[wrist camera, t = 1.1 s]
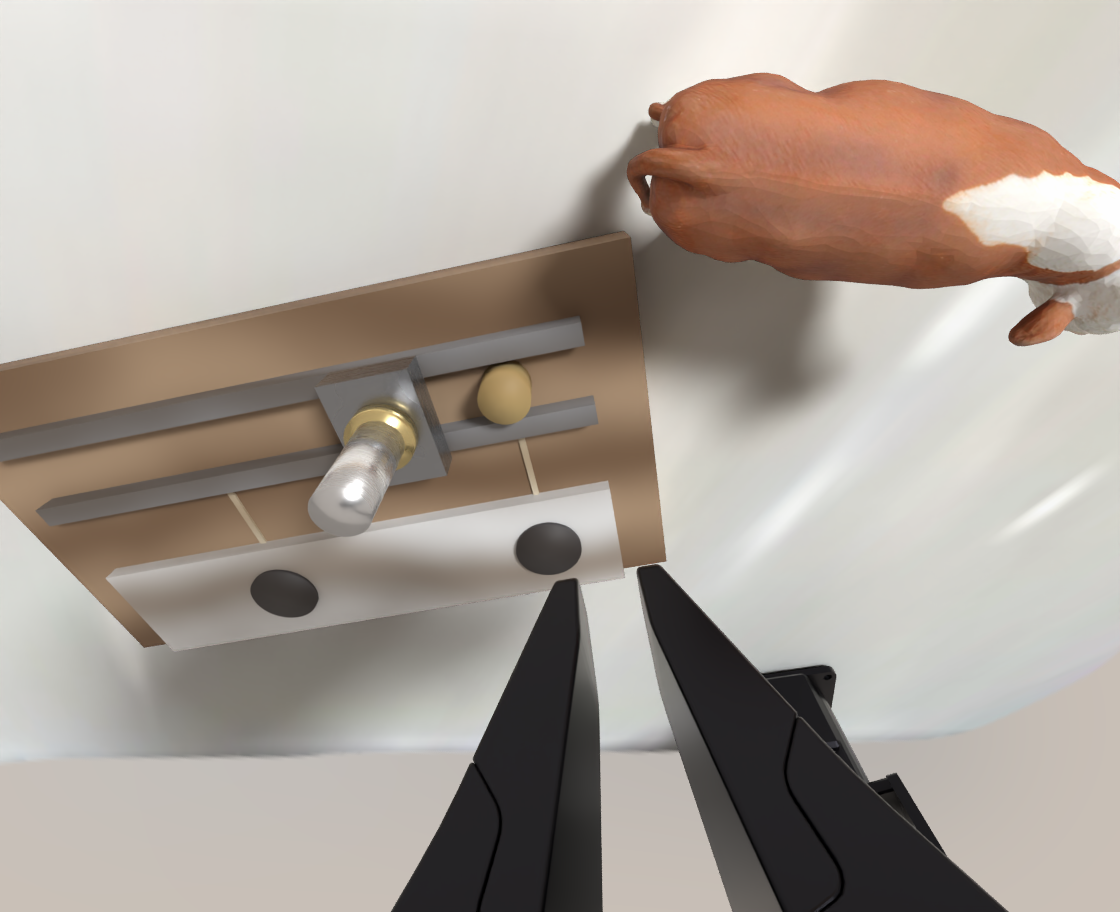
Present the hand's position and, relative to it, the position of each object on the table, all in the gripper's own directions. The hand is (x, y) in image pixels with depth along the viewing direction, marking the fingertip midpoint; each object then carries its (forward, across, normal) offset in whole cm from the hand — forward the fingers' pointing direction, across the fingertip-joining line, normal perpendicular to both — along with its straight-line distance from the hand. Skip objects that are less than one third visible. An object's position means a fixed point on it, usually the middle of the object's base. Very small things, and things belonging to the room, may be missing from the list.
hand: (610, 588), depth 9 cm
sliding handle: (+9, +7, 0) cm, 11 cm away
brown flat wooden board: (+12, +10, +3) cm, 16 cm away
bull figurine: (+12, -8, -4) cm, 15 cm away
